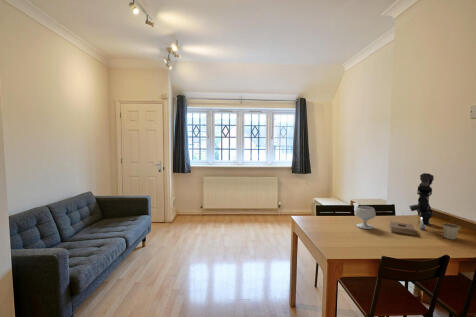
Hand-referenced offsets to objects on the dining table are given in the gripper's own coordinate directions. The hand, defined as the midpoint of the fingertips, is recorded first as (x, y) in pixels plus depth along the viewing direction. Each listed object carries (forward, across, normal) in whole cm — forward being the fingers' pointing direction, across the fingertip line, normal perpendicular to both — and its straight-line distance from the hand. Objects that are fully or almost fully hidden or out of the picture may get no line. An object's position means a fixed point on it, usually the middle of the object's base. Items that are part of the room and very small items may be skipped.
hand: (423, 222), depth 179 cm
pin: (+5, 0, 0) cm, 5 cm away
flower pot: (+5, +11, +13) cm, 18 cm away
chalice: (+5, +12, -38) cm, 40 cm away
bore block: (+5, +10, -14) cm, 18 cm away
